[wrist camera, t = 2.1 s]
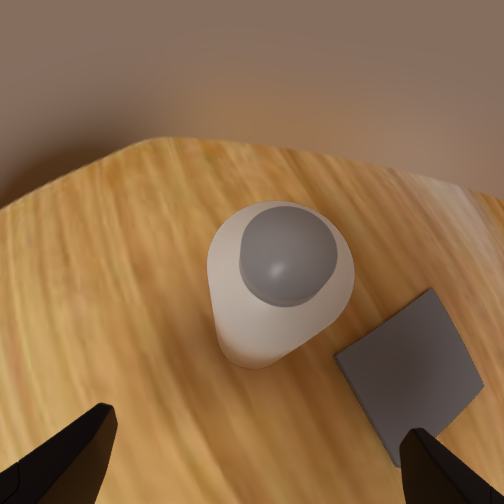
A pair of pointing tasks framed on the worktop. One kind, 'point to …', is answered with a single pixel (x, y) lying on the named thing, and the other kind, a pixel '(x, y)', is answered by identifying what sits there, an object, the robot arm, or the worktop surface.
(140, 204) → the worktop surface
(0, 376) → the worktop surface
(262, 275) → the cream bottle
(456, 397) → the charcoal mat
